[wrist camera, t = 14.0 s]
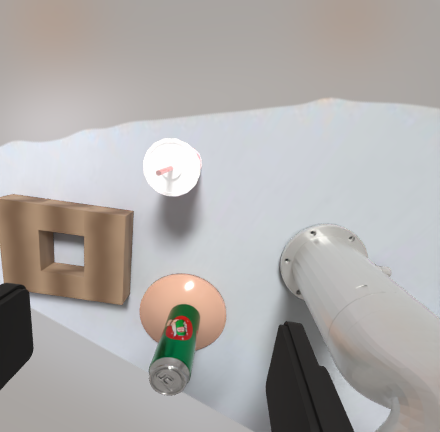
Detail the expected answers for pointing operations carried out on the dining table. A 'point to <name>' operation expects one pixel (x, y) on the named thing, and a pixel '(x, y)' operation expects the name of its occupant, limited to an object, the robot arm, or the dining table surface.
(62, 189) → the dining table surface
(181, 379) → the soda can
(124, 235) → the pocket board
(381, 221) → the dining table surface
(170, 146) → the beverage cup
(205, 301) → the peach domed disc
